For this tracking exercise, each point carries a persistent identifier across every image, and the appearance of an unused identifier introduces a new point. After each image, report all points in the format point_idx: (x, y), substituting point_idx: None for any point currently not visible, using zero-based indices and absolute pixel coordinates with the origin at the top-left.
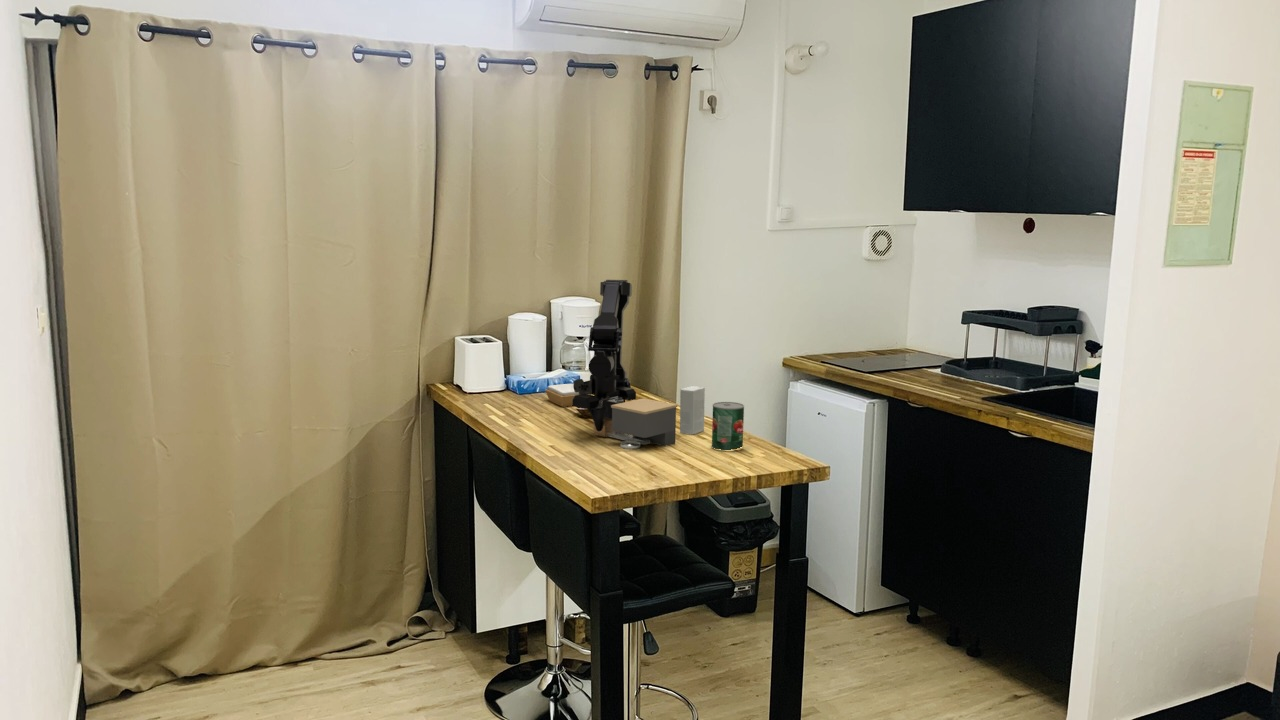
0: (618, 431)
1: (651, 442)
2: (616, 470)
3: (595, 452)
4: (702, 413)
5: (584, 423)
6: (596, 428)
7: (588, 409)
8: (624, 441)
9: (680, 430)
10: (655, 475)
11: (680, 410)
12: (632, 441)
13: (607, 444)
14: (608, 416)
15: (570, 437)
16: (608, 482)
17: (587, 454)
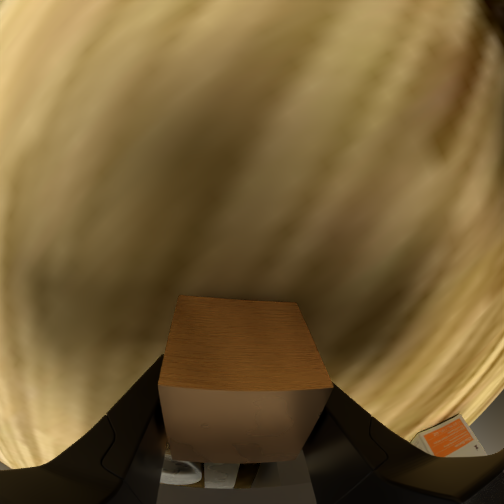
0: None
1: (256, 475)
2: (31, 462)
3: (31, 414)
4: None
5: (435, 31)
6: (155, 366)
7: (25, 476)
8: (165, 461)
9: (419, 439)
10: None
11: None
12: (190, 471)
13: None
14: (329, 426)
15: (42, 192)
16: (5, 456)
17: (6, 402)
